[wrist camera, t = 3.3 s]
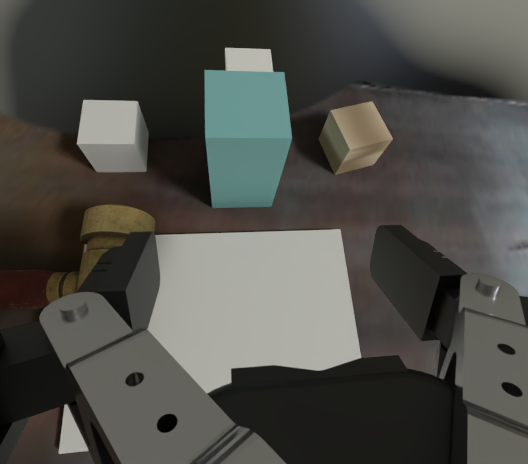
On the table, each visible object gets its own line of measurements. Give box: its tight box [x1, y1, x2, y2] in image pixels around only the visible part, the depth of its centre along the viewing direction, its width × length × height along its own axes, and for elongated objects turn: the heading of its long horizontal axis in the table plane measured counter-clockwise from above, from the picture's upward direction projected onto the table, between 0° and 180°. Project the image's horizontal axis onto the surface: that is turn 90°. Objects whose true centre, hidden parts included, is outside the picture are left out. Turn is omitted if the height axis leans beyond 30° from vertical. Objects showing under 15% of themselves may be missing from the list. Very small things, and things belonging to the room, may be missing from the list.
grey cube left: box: [77, 100, 149, 172], centre depth 26 cm, size 4×4×4 cm
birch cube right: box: [319, 102, 393, 175], centre depth 29 cm, size 4×4×4 cm
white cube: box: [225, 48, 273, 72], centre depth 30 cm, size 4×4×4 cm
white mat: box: [59, 229, 361, 454], centre depth 24 cm, size 20×14×1 cm
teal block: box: [205, 70, 292, 208], centre depth 24 cm, size 5×5×10 cm
